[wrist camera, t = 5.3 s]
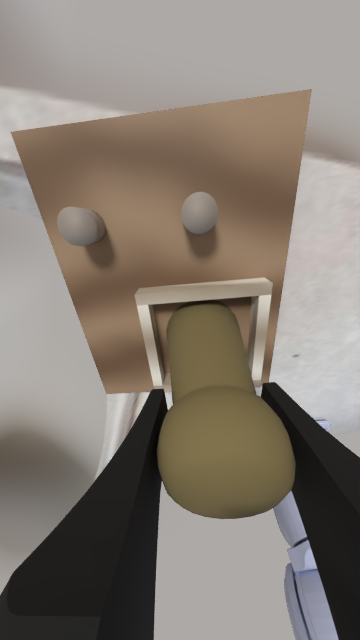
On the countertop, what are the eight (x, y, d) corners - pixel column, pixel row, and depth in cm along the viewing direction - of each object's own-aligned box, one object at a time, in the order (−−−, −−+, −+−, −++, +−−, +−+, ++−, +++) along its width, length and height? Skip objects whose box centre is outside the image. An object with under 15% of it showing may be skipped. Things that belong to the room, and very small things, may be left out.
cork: (232, 363, 17) (293, 543, 8) (165, 359, 17) (141, 536, 8) (245, 301, 15) (369, 455, 5) (167, 296, 15) (132, 443, 5)
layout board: (263, 376, 20) (277, 402, 17) (110, 384, 21) (98, 410, 18) (298, 102, 11) (340, 59, 8) (26, 140, 12) (-25, 113, 9)
